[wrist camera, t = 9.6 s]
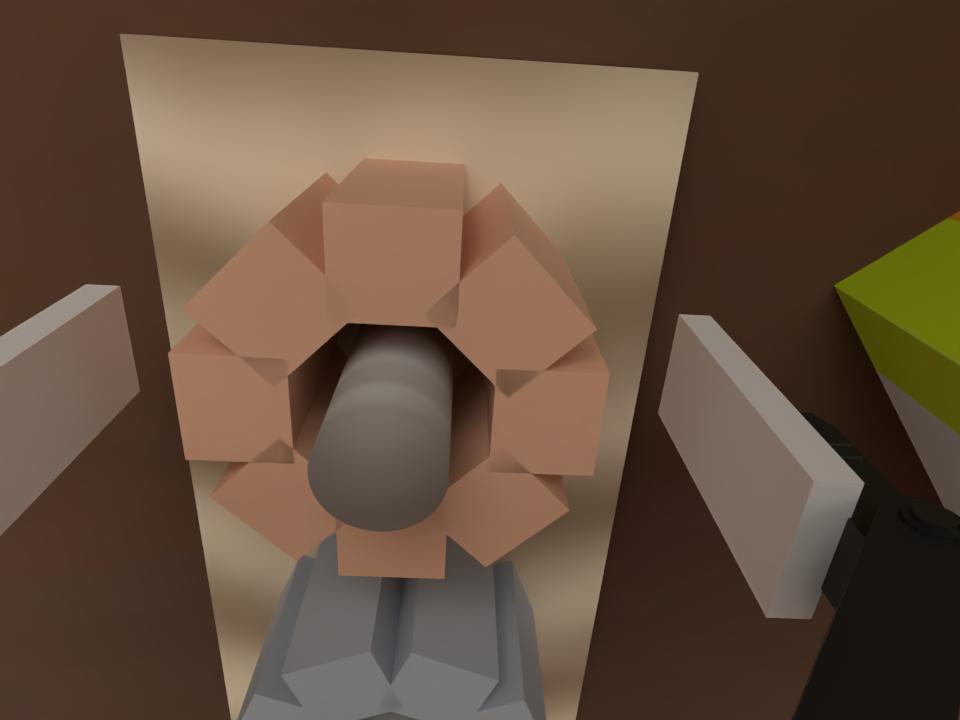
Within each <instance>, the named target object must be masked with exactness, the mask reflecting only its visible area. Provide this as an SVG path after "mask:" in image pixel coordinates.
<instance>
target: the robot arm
mask: <svg viewBox="0 0 960 720" xmlns="http://www.w3.org/2000/svg"><path fill="white" fill-rule="evenodd" d="M139 391H140V388H139V383H138V377H137V372H136V367H135V362H134V357H133V351H132V346H131V341H130V336H129V330H128V325H127V320H126V315H125V310H124V304H123V299H122V294H121V289H120V286H110V285H90V284H86V285H84V286H82V287H81V288H79V289H78V290H76V291H74V292H73V293H71V294H69V295H68V296H66V297H64V298H63V299H61V300H59V301H58V302H56V303H55V304H53V305H51V306H50V307H48V308H46V309H45V310H43V311H41V312H40V313H38V314H37V315H35V316H33V317H32V318H30V319H28V320H27V321H25V322H23V323H22V324H20V325H19V326H17V327H15V328H14V329H12V330H10V331H9V332H7V333H5V334H4V335H2V336H1V337H0V536H1V535H2V534H3V533H4V532H5V531H6V530H7V528H8V527H9V526H10V525H11V524H12V523H13V522H14V521H15V520H16V519H17V518H18V517H19V516H20V515H21V514H22V513H23V512H24V511H25V510H26V509H27V508H28V507H29V506H30V505H31V504H32V503H33V501H34V500H35V499H36V498H37V497H38V496H39V495H40V494H41V493H42V492H43V491H44V490H45V489H46V488H47V487H48V486H49V485H50V484H51V483H52V482H53V481H54V480H55V479H56V478H57V477H58V476H59V474H60V473H61V472H62V471H63V470H64V469H65V468H66V467H67V466H68V465H69V464H70V463H71V462H72V461H73V460H74V459H75V458H76V457H77V456H78V455H79V454H80V453H81V452H82V451H83V450H84V449H85V447H86V446H87V445H88V444H89V443H90V442H91V441H92V440H93V439H94V438H95V437H96V436H97V435H98V434H99V433H100V432H101V431H102V430H103V429H104V428H105V427H106V426H107V425H108V424H109V423H110V422H111V420H112V419H113V418H114V417H115V416H116V415H117V414H118V413H119V412H120V411H121V410H122V409H123V408H124V407H125V406H126V405H127V404H128V403H129V402H130V401H131V400H132V399H133V398H134V397H135V396H136V395H137V393H138V392H139ZM658 414H659V416H660V418H661V420H662V422H663V424H664V425H665V427H666V429H667V431H668V433H669V435H670V437H671V439H672V441H673V442H674V444H675V446H676V448H677V450H678V452H679V454H680V456H681V458H682V459H683V461H684V463H685V465H686V467H687V469H688V471H689V473H690V475H691V476H692V478H693V480H694V482H695V484H696V486H697V488H698V490H699V492H700V493H701V495H702V497H703V499H704V501H705V503H706V505H707V507H708V509H709V510H710V512H711V514H712V516H713V518H714V520H715V522H716V524H717V526H718V527H719V529H720V531H721V533H722V535H723V537H724V539H725V541H726V543H727V544H728V546H729V548H730V550H731V552H732V554H733V556H734V558H735V560H736V561H737V563H738V565H739V567H740V569H741V571H742V573H743V575H744V577H745V578H746V580H747V582H748V584H749V586H750V588H751V590H752V592H753V594H754V595H755V597H756V599H757V601H758V603H759V605H760V607H761V609H762V611H763V612H764V614H765V616H766V618H793V619H812V616H813V614H814V611H815V609H816V606H817V604H818V601H819V599H820V596H821V593H822V591H823V592H824V594H825V595H826V597H827V598H828V600H829V601H830V603H831V604H832V606H833V607H834V609H835V610H836V611H835V614H834V616H833V619H832V621H831V624H830V626H829V628H828V631H827V633H826V636H825V638H824V641H823V643H822V645H821V648H820V650H819V653H818V655H817V658H816V661H815V663H814V666H813V668H812V671H811V673H810V676H809V678H808V681H807V683H806V686H805V688H804V691H803V693H802V696H801V698H800V701H799V703H798V705H797V708H796V710H795V713H794V715H793V718H792V720H958V713H959V706H960V516H958V515H957V514H955V513H954V512H952V511H950V510H948V509H946V508H943V507H941V506H939V505H937V504H935V503H932V502H928V501H925V500H921V499H918V498H913V497H904V496H902V495H901V494H900V493H899V492H898V491H897V490H896V489H895V488H894V487H893V486H892V485H891V484H890V483H889V482H888V481H887V480H886V479H885V478H884V477H883V476H882V475H881V474H880V473H879V472H878V471H877V470H876V469H875V468H874V467H873V466H872V465H871V464H870V463H869V461H868V460H864V459H863V455H862V454H861V453H860V452H859V451H858V450H857V449H856V448H855V447H854V446H851V443H850V442H849V441H848V440H847V439H846V438H845V437H844V436H843V435H842V434H841V433H840V432H839V431H838V430H837V429H836V428H835V427H833V426H832V425H830V424H828V423H827V422H825V421H823V420H822V419H820V418H818V417H817V416H815V415H813V414H812V413H799V411H798V410H797V409H796V408H795V407H794V406H793V405H792V404H791V403H790V402H789V401H788V400H787V398H786V397H785V396H784V395H783V394H782V393H781V392H780V391H779V390H778V389H777V388H776V387H775V385H774V384H773V383H772V382H771V381H770V380H769V379H768V378H767V377H766V376H765V375H764V374H763V372H762V371H761V370H760V369H759V368H758V367H757V366H756V365H755V364H754V363H753V362H752V361H751V359H750V358H749V357H748V356H747V355H746V354H745V353H744V352H743V351H742V350H741V349H740V347H739V346H738V345H737V344H736V343H735V342H734V341H733V340H732V339H731V338H730V337H729V336H728V334H727V333H726V332H725V331H724V330H723V329H722V328H721V327H720V326H719V325H718V324H717V323H716V321H715V320H714V319H713V318H712V317H711V316H705V315H685V314H679V316H678V321H677V326H676V330H675V335H674V340H673V345H672V350H671V354H670V359H669V364H668V369H667V373H666V378H665V383H664V388H663V393H662V397H661V402H660V407H659V412H658Z"/></svg>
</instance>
